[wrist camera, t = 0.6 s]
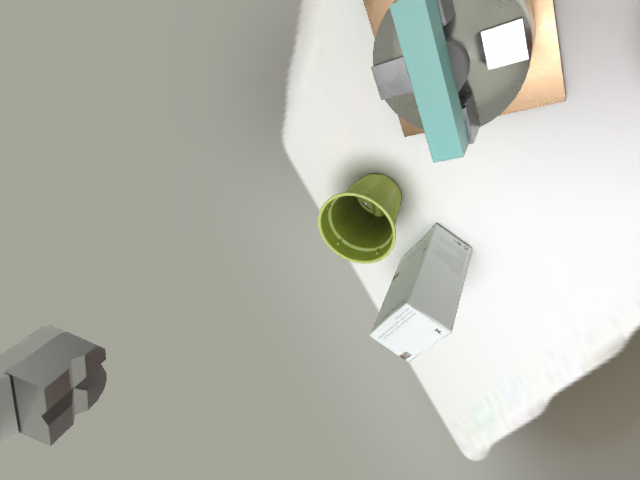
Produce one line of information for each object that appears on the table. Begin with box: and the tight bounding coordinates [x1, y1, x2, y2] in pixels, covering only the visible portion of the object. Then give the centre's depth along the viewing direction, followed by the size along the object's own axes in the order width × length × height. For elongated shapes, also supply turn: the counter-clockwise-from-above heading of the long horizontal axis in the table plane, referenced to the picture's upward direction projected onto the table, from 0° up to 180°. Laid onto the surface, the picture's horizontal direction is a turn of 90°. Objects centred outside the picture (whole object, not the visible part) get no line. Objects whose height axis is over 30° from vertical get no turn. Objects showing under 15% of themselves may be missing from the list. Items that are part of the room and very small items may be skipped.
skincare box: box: [370, 224, 472, 362], centre depth 54 cm, size 8×6×15 cm
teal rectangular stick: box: [389, 0, 470, 163], centre depth 35 cm, size 4×12×5 cm, turn 23°
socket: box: [363, 0, 566, 144], centre depth 40 cm, size 16×16×12 cm
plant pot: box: [318, 174, 401, 263], centre depth 55 cm, size 9×9×9 cm
